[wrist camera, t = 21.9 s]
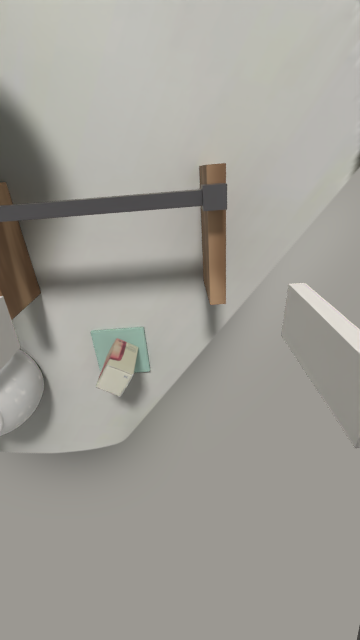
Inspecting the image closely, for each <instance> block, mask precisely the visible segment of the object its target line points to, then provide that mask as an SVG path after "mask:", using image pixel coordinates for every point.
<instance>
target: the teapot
mask: <svg viewBox="0 0 360 640" xmlns="http://www.w3.org/2000/svg"><path fill="white" fill-rule="evenodd" d="M43 390H44V380H43V376H42V373H41V371H40V369H39V367H38V365H37V364H36V363H35V361H34V360H33V359H32V358H31V357H30V356H29V355H28V354H26V353H25V352H24V351H22V350H20V349H18V351H17V352H16V353H15V354H14V355H13V356H12V358H11V359H10V360H9V361H8V362H7V363H6V365H5V366H4V367H3V368H2V369H1V370H0V436H2V435H4V434H7V433H9V432H11V431H13V430H14V429H16V428H18V427H19V426H20V425H22V424H23V423H24V422H25V421H26V420H27V419H28V418H29V417H30V416H31V415H32V414H33V412H34V411H35V409H36V408H37V406H38V404H39V402H40V400H41V398H42V394H43Z"/></svg>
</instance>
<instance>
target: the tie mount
mask: <svg viewBox="0 0 360 640" xmlns="http://www.w3.org/2000/svg"><path fill="white" fill-rule="evenodd" d="M199 170H200V189H201V185H202V184H215V183H226V163H223V164H211V165H203V166H199ZM1 205H13V203H12V200H11V197H10V194H9V191H8V188H7V185H6V182H2V183H0V206H1ZM201 223H202V250H203V277H204V284H205V287H206V291H207V295H208V298H209V302H210V305H215V304H226V210H214V211H203V210H202V208H201ZM39 294H41V291H40V288H39V285H38V282H37V279H36V276H35V272H34V269H33V266H32V263H31V260H30V257H29V254H28V250H27V247H26V244H25V241H24V238H23V235H22V232H21V228H20V225H19V222H18V221H7V222H0V296H3V297H4V300H5V303H6V306H7V309H8V311H9V314H10V317H11V320H12V319H13V318H14V317H16V316H17V315H18V314H19V313H20V312H21V311H22V310H23V309H24V308H25V307H26V306H27V305H29V304H30V303H31V302H32V301H33V300H34V299H35V298H36V297H37V296H38V295H39Z"/></svg>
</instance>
